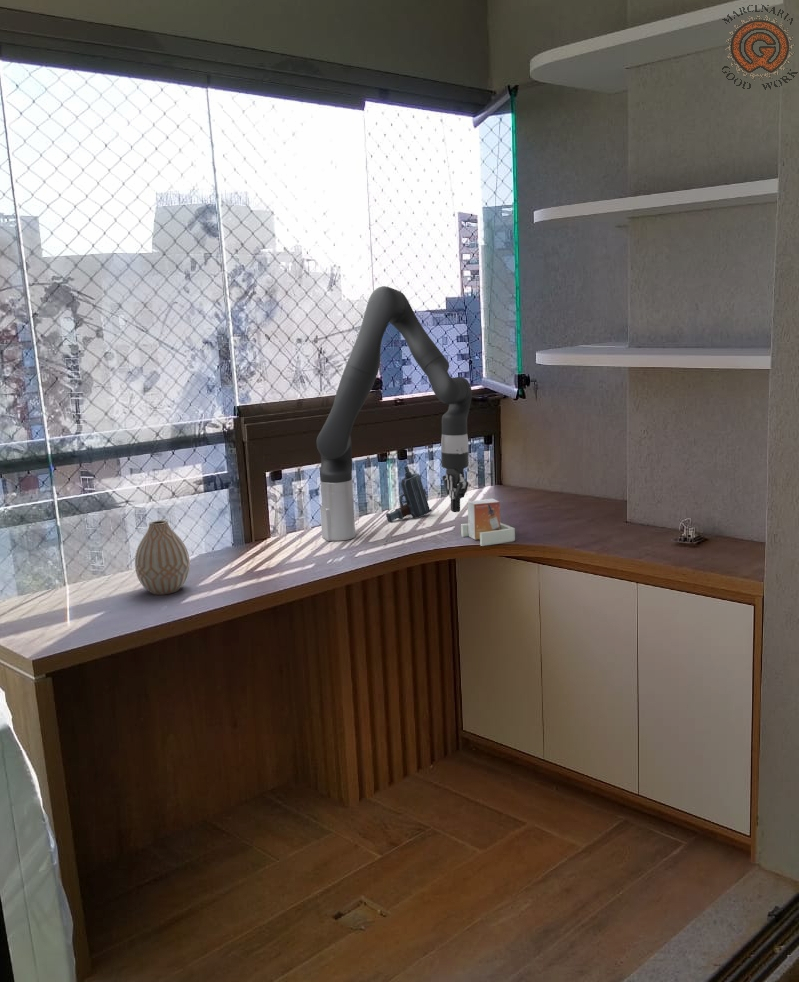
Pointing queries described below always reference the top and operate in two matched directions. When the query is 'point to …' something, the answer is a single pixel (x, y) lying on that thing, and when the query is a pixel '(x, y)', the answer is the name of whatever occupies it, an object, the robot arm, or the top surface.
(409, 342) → the robot arm
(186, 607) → the top surface
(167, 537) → the vase
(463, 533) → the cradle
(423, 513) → the gun
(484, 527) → the small box
